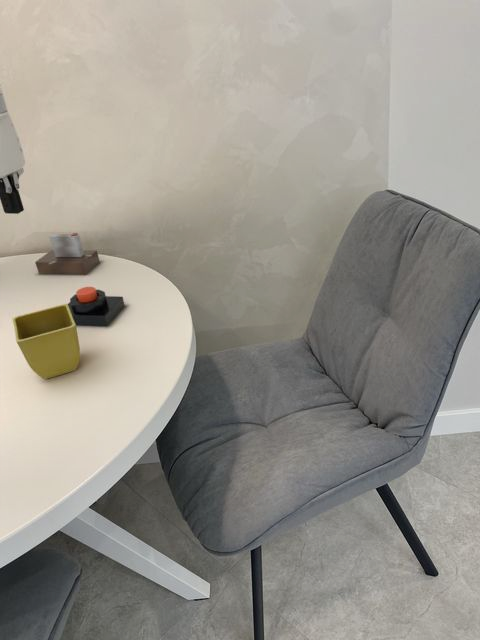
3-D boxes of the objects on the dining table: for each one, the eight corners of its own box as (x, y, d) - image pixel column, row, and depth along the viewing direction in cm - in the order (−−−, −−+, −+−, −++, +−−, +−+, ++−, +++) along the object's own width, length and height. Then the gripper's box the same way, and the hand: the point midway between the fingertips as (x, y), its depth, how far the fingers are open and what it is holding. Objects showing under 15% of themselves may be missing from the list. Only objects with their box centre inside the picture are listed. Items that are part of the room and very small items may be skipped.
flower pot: (90, 373, 88) (75, 324, 83) (34, 390, 85) (15, 341, 80) (81, 348, 95) (67, 302, 90) (29, 364, 92) (11, 317, 87)
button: (75, 303, 102) (72, 294, 102) (84, 294, 105) (81, 286, 105) (92, 303, 102) (90, 295, 101) (101, 294, 105) (98, 286, 104)
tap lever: (55, 257, 125) (49, 235, 123) (59, 254, 127) (52, 232, 124) (81, 257, 124) (75, 235, 121) (84, 254, 125) (78, 232, 123)
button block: (59, 325, 103) (53, 306, 101) (79, 305, 110) (74, 287, 108) (107, 326, 101) (102, 307, 99) (125, 306, 108) (120, 288, 106)
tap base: (36, 276, 125) (31, 263, 123) (57, 260, 132) (53, 247, 131) (85, 277, 122) (81, 263, 120) (103, 260, 130) (100, 247, 128)
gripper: (-10, 100, 100) (19, 199, 110) (-67, 116, 88) (-29, 225, 98) (26, 99, 99) (53, 200, 109) (-27, 115, 87) (8, 226, 96)
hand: (14, 211), depth 103 cm, fingers closed
